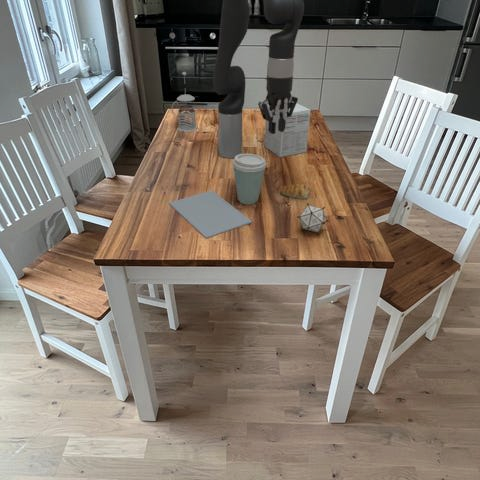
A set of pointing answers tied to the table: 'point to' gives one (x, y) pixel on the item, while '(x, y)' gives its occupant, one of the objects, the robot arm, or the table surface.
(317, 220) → the game die
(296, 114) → the supplement box
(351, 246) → the table surface
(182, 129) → the french press
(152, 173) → the table surface
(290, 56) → the robot arm
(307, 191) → the pastry
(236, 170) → the disposable coffee cup
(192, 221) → the mat
